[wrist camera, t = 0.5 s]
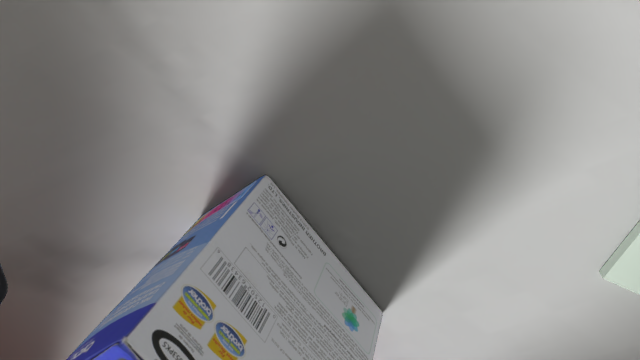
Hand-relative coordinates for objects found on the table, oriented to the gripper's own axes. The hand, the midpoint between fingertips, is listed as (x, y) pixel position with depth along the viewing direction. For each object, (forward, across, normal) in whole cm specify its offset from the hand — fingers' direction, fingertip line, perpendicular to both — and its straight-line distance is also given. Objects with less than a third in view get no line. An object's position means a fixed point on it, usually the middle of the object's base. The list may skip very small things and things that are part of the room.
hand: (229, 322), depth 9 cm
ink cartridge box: (+13, +1, +12) cm, 18 cm away
